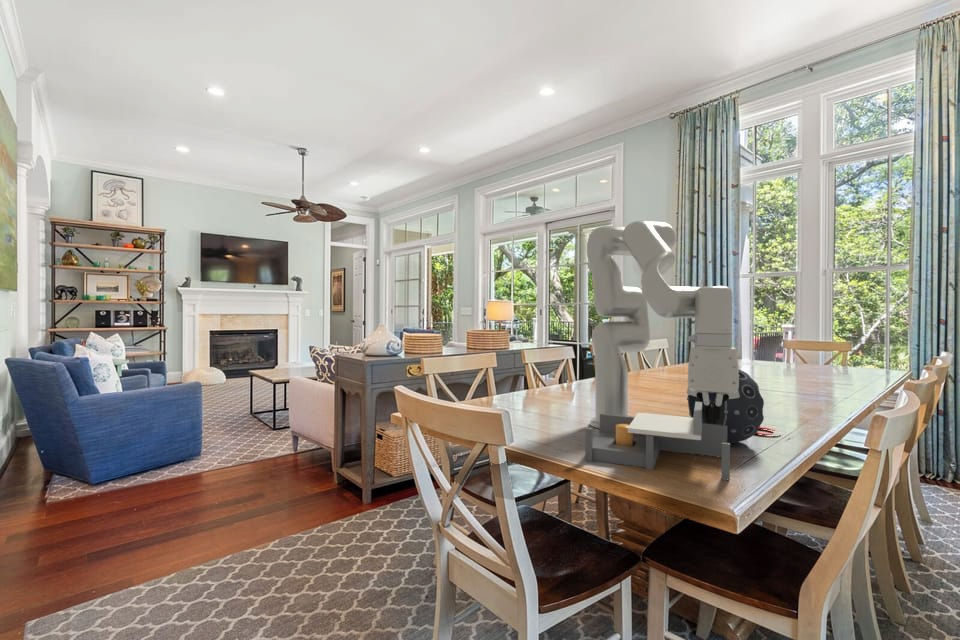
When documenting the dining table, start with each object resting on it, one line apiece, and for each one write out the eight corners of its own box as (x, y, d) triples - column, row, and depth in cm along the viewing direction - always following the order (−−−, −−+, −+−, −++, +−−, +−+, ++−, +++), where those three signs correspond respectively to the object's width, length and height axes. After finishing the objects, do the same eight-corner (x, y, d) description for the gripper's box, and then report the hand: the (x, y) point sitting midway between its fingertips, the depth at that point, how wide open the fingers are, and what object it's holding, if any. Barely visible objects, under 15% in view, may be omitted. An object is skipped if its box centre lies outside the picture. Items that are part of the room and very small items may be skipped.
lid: (637, 416, 122) (637, 397, 121) (702, 422, 115) (702, 402, 115) (627, 432, 106) (627, 410, 106) (700, 440, 100) (701, 416, 100)
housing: (600, 441, 126) (600, 413, 126) (726, 457, 113) (727, 425, 113) (585, 460, 111) (585, 428, 110) (729, 480, 98) (730, 444, 97)
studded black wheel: (728, 453, 116) (728, 372, 115) (683, 432, 135) (684, 362, 135) (768, 451, 117) (769, 371, 116) (718, 430, 137) (719, 362, 136)
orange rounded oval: (616, 450, 118) (616, 423, 117) (633, 452, 116) (633, 424, 116) (614, 456, 114) (614, 427, 114) (631, 458, 113) (632, 429, 112)
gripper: (676, 341, 106) (675, 422, 106) (752, 343, 99) (751, 429, 100) (677, 339, 112) (677, 415, 113) (749, 341, 106) (748, 422, 107)
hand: (712, 422), depth 106 cm, fingers closed
